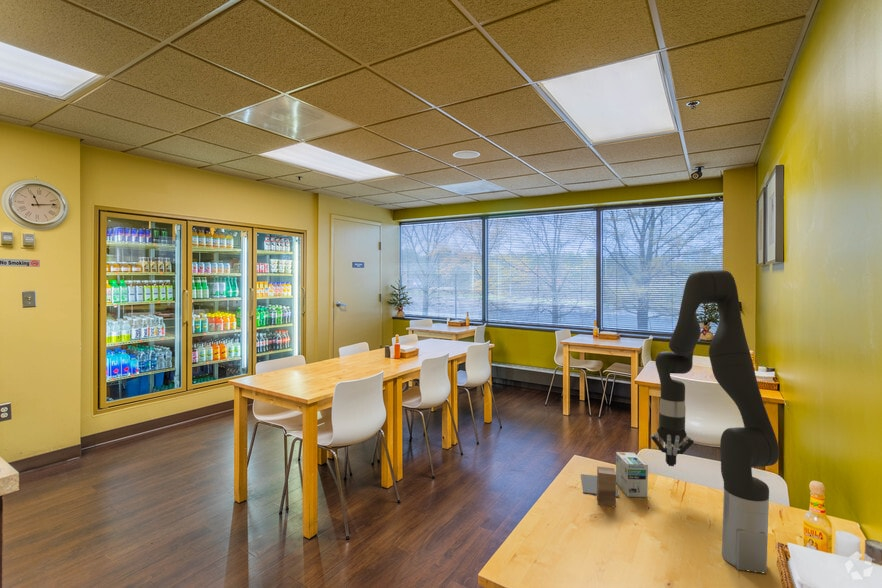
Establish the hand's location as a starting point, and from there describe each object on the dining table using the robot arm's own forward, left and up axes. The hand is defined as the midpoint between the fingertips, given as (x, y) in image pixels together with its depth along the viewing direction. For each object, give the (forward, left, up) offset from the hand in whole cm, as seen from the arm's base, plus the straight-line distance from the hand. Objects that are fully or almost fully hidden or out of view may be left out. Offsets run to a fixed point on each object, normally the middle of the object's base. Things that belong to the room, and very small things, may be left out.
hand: (670, 465), depth 143 cm
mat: (0, +22, -10) cm, 24 cm away
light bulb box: (0, +12, -10) cm, 15 cm away
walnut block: (-11, +21, -10) cm, 26 cm away
